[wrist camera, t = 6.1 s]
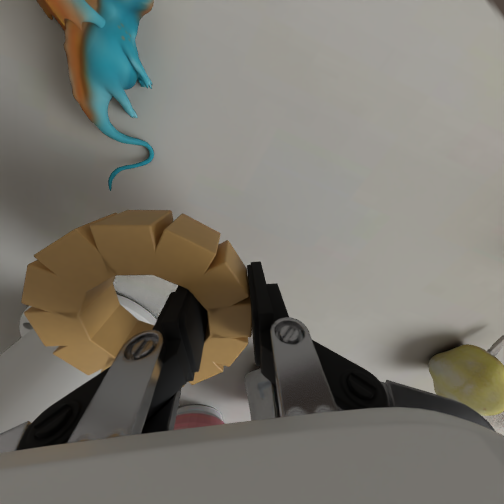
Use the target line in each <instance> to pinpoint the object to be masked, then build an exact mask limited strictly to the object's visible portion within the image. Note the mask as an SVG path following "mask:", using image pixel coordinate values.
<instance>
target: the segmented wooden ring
mask: <svg viewBox="0 0 504 504" xmlns="http://www.w3.org/2000/svg"><path fill="white" fill-rule="evenodd" d="M219 239H220V233H219V232H217V231H215V230H213V229H211V228H209V227H208V226H206V225H204V224H202V223H200V222H198V221H196V220H194V219H192V218H191V217H189V216H187V215H185V214H181V215H180V216H179V217H178V218H177V219H176V220H174V221H173V216H172V211H170V210H126V211H123V212H121V213H119V214H117V213H113V214H111V215H108V216H106V217H103V218H101V219H98V220H96V221H93V222H91V223H88V224H86V225H83V226H81V227H78V228H76V229H74V230H72V231H71V232H69V233H68V234H66V235H64V236H63V237H61V238H60V239H58V240H57V241H55V242H54V243H52V244H50V245H49V246H47V247H46V248H44V249H43V250H41V251H40V252H38V253H36V254H35V255H34V257H35V258H36V259H37V260H36V261H34V262H32V263H30V264H28V266H27V271H26V277H25V283H24V289H23V295H22V301H21V303H22V304H25V305H28V306H32V307H30V308H29V309H28V310H26V311H25V312H24V315H25V316H26V318H27V319H28V321H29V322H30V324H31V325H32V327H33V329H34V330H35V332H36V333H37V335H38V336H39V338H40V340H41V341H42V343H43V344H44V346H46V347H47V346H59V347H58V348H57V349H56V350H55V351H54V352H53V354H54V355H55V356H57V357H59V358H60V359H62V360H64V361H65V362H67V363H68V364H70V365H72V366H73V367H75V368H77V369H78V370H80V371H81V372H83V373H85V374H86V375H91V374H93V373H95V372H97V371H99V370H101V369H102V370H101V372H103V371H104V370H106V369H107V368H109V367H110V366H111V365H112V363H113V362H114V360H115V358H116V356H117V355H118V353H119V351H120V349H121V348H122V347H123V345H124V344H125V343H126V342H127V341H128V340H129V339H130V338H132V337H133V336H135V335H136V334H138V333H141V332H143V331H147V330H152V329H153V327H154V325H152V324H149V323H146V322H143V321H140V320H138V319H137V318H135V317H134V316H133V315H132V314H131V313H130V312H129V311H127V310H126V309H125V308H124V307H123V306H122V305H120V303H119V300H118V297H117V294H116V291H115V288H114V285H113V281H114V279H115V276H116V275H155V276H157V277H160V278H162V279H164V280H167V281H169V282H172V283H174V284H177V285H179V286H181V287H184V288H186V289H188V290H189V291H190V292H191V293H192V294H193V295H194V297H195V298H196V299H197V300H198V301H199V302H200V303H201V305H202V306H203V307H204V308H205V309H206V310H207V315H208V322H207V328H206V334H205V339H204V347H203V353H202V358H201V364H200V369H199V372H195V375H194V380H193V381H188V382H189V383H191V384H192V385H194V384H196V383H198V382H201V381H203V380H205V379H208V378H210V377H212V376H214V375H217V374H219V373H221V372H223V366H228V367H229V366H230V365H231V364H232V363H233V362H234V361H235V359H236V358H237V357H238V356H239V354H240V353H241V352H242V351H243V350H244V348H245V347H246V346H247V345H248V337H251V335H252V315H251V301H250V292H249V282H248V276H247V268H246V267H245V265H244V264H243V262H242V261H241V259H240V258H239V256H238V255H237V253H236V252H235V250H234V249H233V247H232V245H231V244H230V242H229V241H228V240H227V241H225V242H223V243H221V244H219V245H218V243H219ZM101 372H100V373H101ZM183 387H184V386H183Z"/></svg>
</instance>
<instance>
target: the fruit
mask: <svg viewBox="0 0 504 504" xmlns="http://www.w3.org/2000/svg"><path fill="white" fill-rule="evenodd" d="M503 345H504V335H503V336H502V337H501V338H499V339H498V340H497V341H496V342H495V343H494V344H493V345H492V347H491V348H490V349H488V350H487V351H485V350H484V349H482V348H480V347H477V346H474V345H462V346H459V347H456V348H454V349H452V350H449V351H446V352H443V353H439V354H436V355H435V356H433V357H432V358H431V359H430V361H429V372H430V374H431V376H432V378H433V383H434V390H435V392H436V394H437V395H439V396H443V397H446V398H450V399H453V400H456V401H458V402H461V403H463V404H465V405H467V406H469V407H470V408H472V409H473V410H475V411H476V412H478V413H479V414H480V415H483V416H491V415H496V414H499V413H501V412H503V411H504V365H503V364H502V363H501V362H500V361H499V360H498V359H497V358H496V357H495V355H496V354H497V353H498V352H499V351H500V349H501V348H502V347H503Z"/></svg>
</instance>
